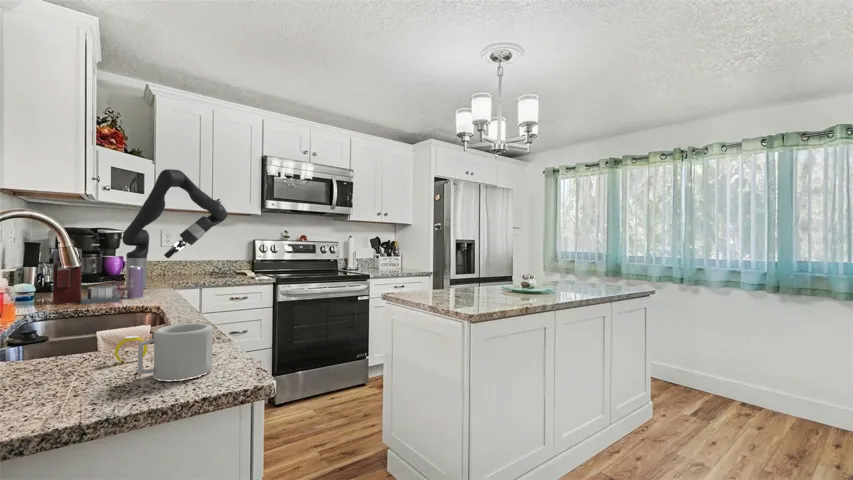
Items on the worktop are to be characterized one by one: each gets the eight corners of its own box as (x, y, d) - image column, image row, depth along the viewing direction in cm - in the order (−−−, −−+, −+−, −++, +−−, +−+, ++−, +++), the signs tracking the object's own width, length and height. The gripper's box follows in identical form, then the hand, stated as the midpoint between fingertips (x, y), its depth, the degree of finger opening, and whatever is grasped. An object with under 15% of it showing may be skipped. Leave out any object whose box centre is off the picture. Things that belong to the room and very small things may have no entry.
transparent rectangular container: (85, 299, 183) (85, 286, 183) (121, 296, 190) (121, 284, 190) (80, 304, 168) (80, 290, 168) (119, 301, 176) (119, 288, 176)
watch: (143, 359, 95) (146, 334, 96) (147, 361, 94) (149, 336, 94) (112, 362, 91) (115, 336, 91) (115, 365, 89) (118, 338, 89)
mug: (200, 363, 92) (200, 320, 92) (220, 373, 85) (221, 327, 85) (129, 378, 81) (130, 330, 81) (146, 391, 75) (147, 339, 75)
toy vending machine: (52, 305, 165) (53, 238, 165) (54, 302, 174) (54, 238, 173) (81, 303, 171) (81, 238, 171) (81, 300, 179) (81, 238, 179)
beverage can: (146, 297, 190) (146, 266, 190) (135, 299, 184) (136, 267, 184) (134, 297, 190) (134, 266, 190) (123, 298, 184) (124, 266, 184)
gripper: (185, 228, 205) (158, 251, 198) (188, 228, 193) (159, 251, 187) (197, 239, 208) (171, 261, 201) (200, 239, 196) (173, 262, 190)
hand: (165, 256), depth 194 cm, fingers open, 8 cm apart
